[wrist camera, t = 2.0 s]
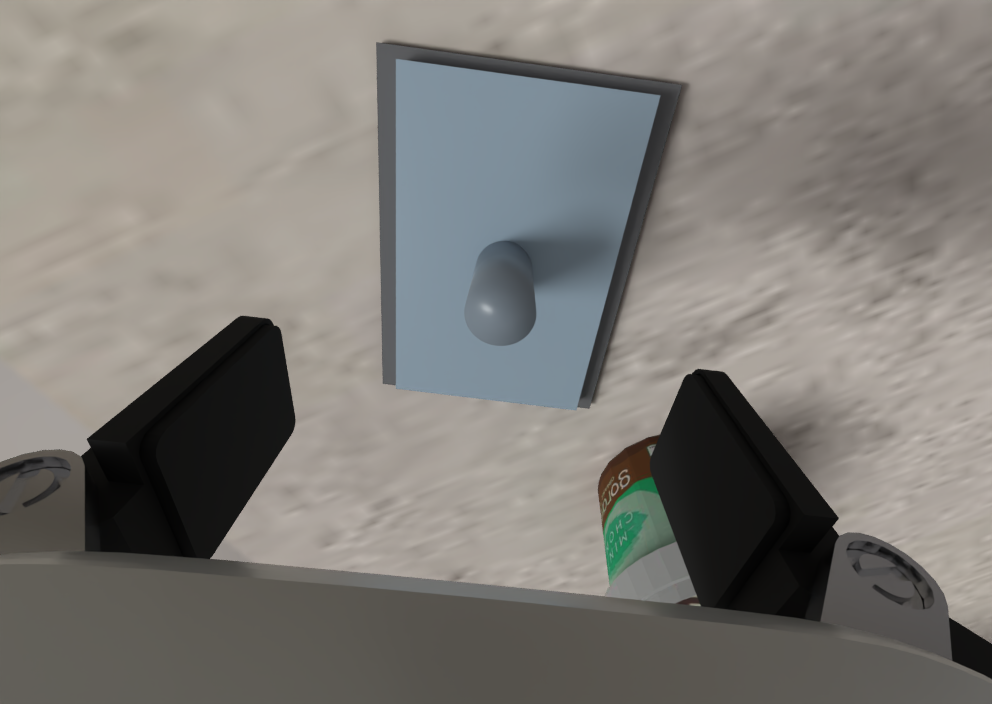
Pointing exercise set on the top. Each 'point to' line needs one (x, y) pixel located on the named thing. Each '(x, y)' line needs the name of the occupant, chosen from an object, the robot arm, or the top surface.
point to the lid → (508, 228)
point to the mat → (392, 52)
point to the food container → (640, 533)
